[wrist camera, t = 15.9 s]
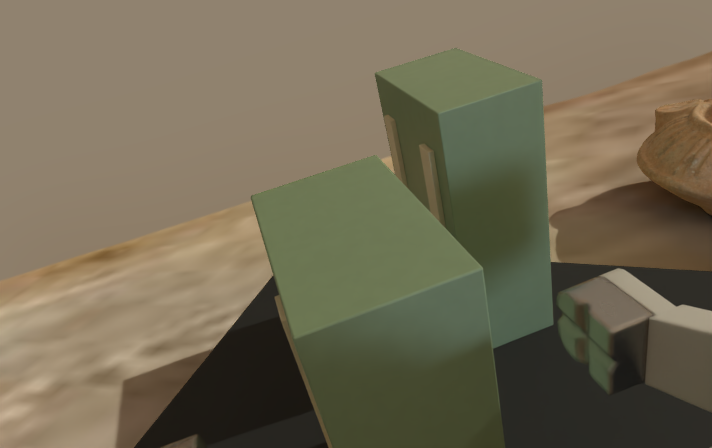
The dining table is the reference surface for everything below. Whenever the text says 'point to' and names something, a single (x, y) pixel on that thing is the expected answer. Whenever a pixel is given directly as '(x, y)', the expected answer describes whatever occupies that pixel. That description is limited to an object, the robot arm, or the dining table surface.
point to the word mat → (513, 372)
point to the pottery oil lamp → (681, 151)
